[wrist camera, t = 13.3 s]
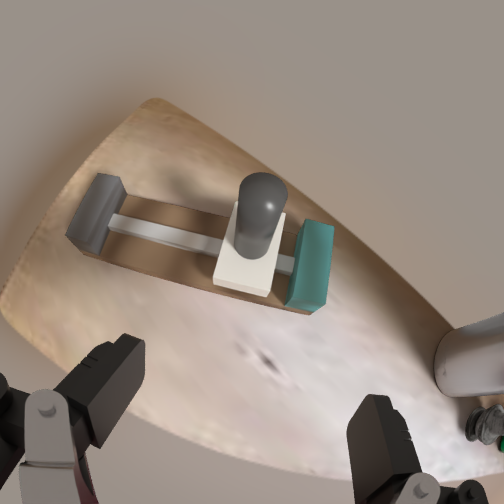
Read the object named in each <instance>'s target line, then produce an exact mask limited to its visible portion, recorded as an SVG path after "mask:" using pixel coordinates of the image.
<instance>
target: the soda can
mask: <svg viewBox="0 0 504 504" xmlns="http://www.w3.org/2000/svg"><path fill="white" fill-rule="evenodd" d="M500 449H501V451H502V453H504V435H503V436H502V438H501V442H500Z"/></svg>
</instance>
